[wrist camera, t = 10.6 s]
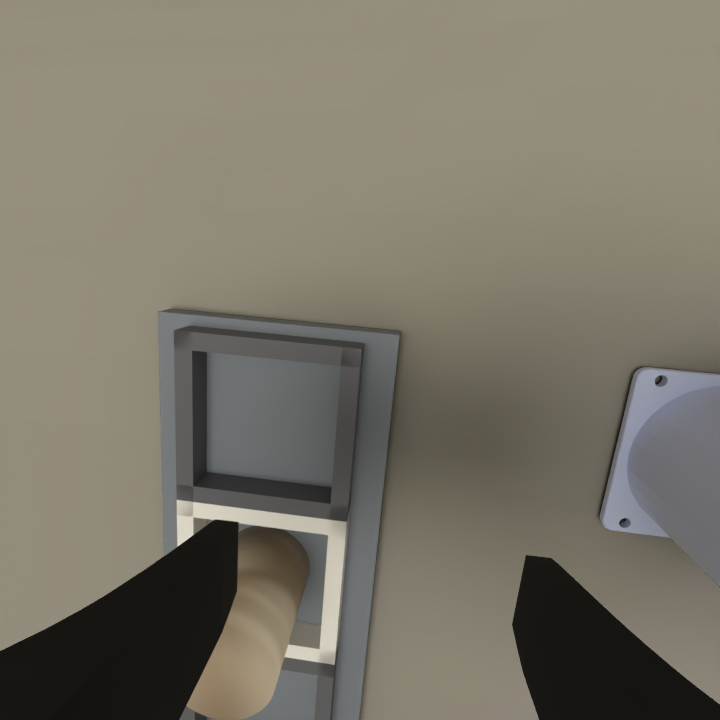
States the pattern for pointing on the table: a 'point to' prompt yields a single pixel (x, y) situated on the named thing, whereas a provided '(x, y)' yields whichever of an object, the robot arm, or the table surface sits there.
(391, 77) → the table surface
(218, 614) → the robot arm
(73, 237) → the table surface
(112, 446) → the table surface
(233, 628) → the beech pin
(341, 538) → the gray compartment tray
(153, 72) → the table surface
